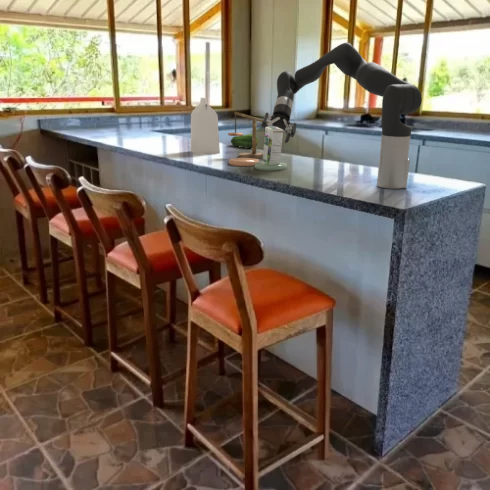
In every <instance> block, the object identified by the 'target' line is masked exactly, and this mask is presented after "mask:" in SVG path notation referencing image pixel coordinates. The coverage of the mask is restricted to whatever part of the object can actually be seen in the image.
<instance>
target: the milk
mask: <svg viewBox="0 0 490 490" xmlns="http://www.w3.org/2000/svg"><path fill="white" fill-rule="evenodd" d="M219 131H220V130H219V116H218V113H217V112H216V111H215V109H213V108H212V107H211V106H210V105H209V104H208V98H207V97H200V102H199V104H197V105H196V106H195V107H194V109H193V110H192V111H191V114H190V152H192V153H194V154H196V155H213V154H218V155H219V154H220V153H221V151H220V149H221V148H220V133H219Z"/></svg>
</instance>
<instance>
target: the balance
mask: <svg viewBox="0 0 490 490" xmlns="http://www.w3.org/2000/svg"><path fill="white" fill-rule="evenodd" d="M233 114H234V132H227V136H232V137H236V136H243V135H244V133H243V132H237V116H240V117H243V118H245V119H250V120H251V121H252V129H251V130H252V134H251V135H252V148H251V152H239V153H238V158H254V159H263V152H257V146H256V137H257V122H260V123H262V122H263V119H262V118H259V117H255V116H252V115H248V114H245V113H242V112H237V111H234V112H233ZM269 122H270V121H269V120H267V121H266V123H269Z"/></svg>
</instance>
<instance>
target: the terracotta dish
mask: <svg viewBox="0 0 490 490" xmlns="http://www.w3.org/2000/svg"><path fill="white" fill-rule="evenodd" d="M258 162H260V159H259V158H239V157H235V158H230V159H228V165H230V166H234V167H255V163H258Z"/></svg>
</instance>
